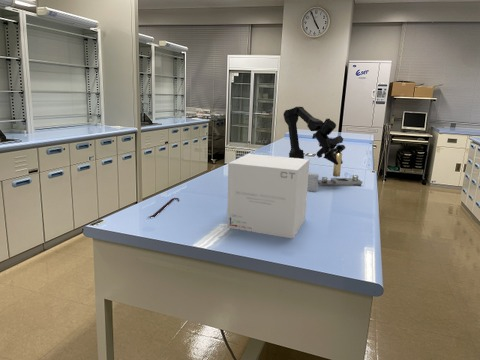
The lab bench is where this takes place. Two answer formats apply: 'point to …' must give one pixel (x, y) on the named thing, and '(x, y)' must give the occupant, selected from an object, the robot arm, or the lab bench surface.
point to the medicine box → (312, 182)
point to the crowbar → (163, 207)
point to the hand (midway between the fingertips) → (339, 164)
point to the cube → (267, 194)
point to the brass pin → (337, 167)
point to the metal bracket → (340, 181)
